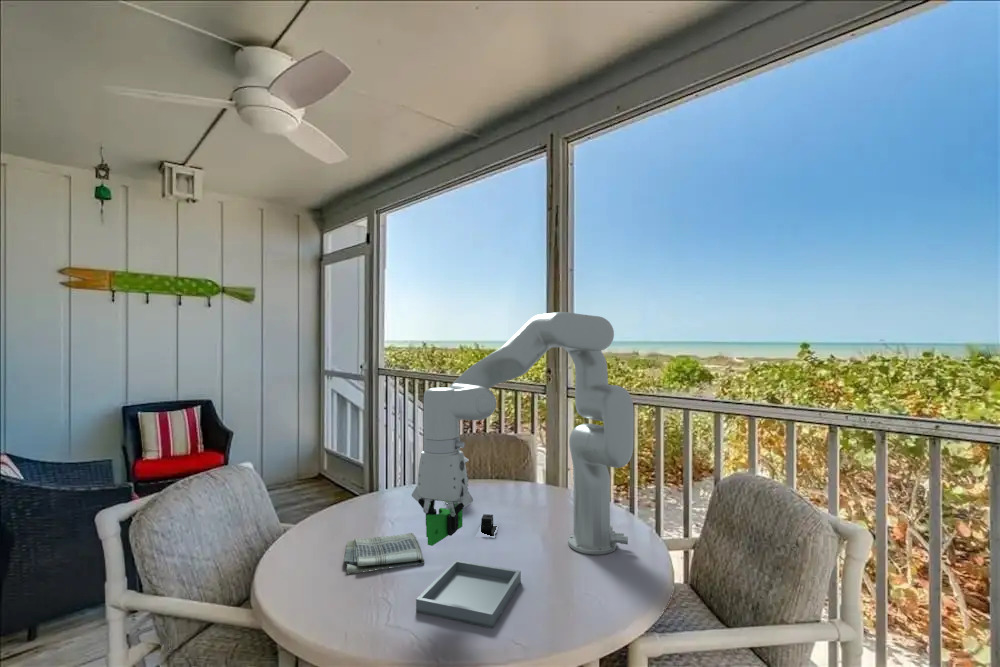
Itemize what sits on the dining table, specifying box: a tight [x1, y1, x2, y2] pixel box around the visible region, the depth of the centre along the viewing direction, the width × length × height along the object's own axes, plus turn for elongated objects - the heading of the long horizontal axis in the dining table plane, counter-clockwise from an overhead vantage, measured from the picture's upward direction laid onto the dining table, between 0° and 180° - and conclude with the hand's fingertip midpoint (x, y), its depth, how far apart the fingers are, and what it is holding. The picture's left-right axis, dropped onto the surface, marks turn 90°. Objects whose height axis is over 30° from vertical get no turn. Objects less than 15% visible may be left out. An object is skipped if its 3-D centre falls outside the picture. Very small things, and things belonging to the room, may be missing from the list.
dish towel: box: [343, 532, 425, 575], centre depth 117 cm, size 19×18×3 cm
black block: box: [480, 513, 497, 536], centre depth 132 cm, size 12×7×5 cm, turn 173°
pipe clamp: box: [425, 507, 463, 546], centre depth 99 cm, size 11×4×5 cm, turn 152°
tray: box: [415, 559, 522, 629], centre depth 97 cm, size 16×18×2 cm
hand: (442, 530), depth 99 cm, fingers closed on pipe clamp, 4 cm apart
